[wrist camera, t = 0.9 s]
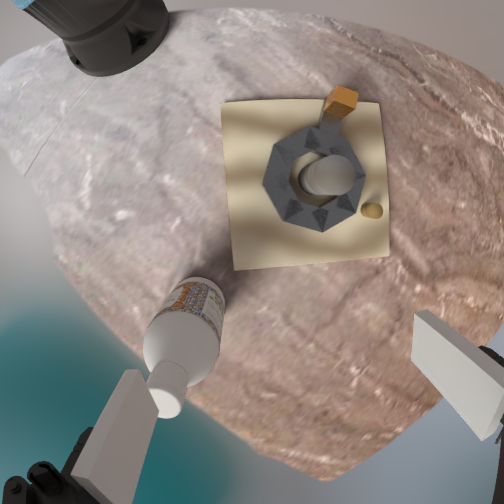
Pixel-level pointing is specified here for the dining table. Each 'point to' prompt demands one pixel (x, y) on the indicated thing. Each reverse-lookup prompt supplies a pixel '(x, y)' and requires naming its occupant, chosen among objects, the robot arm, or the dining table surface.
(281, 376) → the dining table surface
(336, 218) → the flange
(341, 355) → the dining table surface
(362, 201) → the post base
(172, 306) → the bath foam
